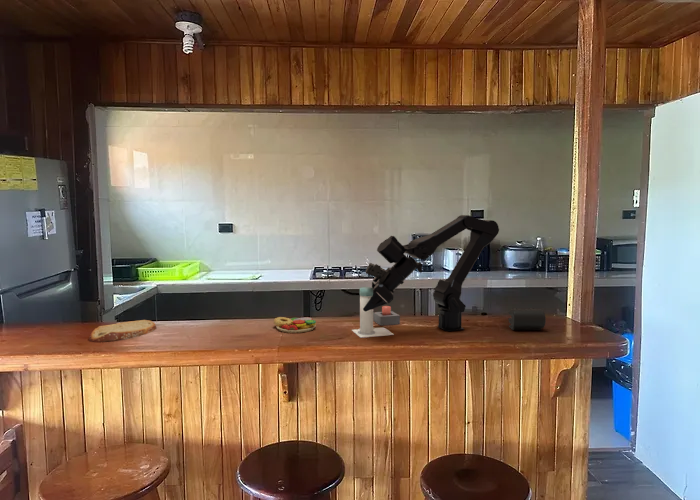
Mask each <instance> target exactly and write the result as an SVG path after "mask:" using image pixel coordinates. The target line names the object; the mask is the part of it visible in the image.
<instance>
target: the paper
mask: <svg viewBox="0 0 700 500" xmlns="http://www.w3.org/2000/svg"><path fill="white" fill-rule="evenodd" d="M351 331H352V332H353V333H354V334H355V335H356V336H358V337H359V338H361V339H363V338H372V337H374V338H375V337H384V336H385V337H386V336H394V335H395V334H394V333H392V332H391V331H390V330H389V329H387V328H385V327H373V333H371V334H362V333H360V328H358V329H351Z"/></svg>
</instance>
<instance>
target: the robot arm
mask: <svg viewBox="0 0 700 500" xmlns="http://www.w3.org/2000/svg"><path fill="white" fill-rule="evenodd" d="M465 230H468V231H470V237H469V238H470V239H469V242H468V244H467V245H466V247H465V249H464V251H463V252H462V254H461V255H460V257H459V259H458V261H457V262H456V264H455V266H454V268H453V269H452V271H451V272H450V274H449V276H448V277H447V278H446V279H445V280H444V279H439V280H438V281H437V284H436V285H435V287H434V288H433V291H434V292H433V293H432V294H433V295H432V297H433V301H434V302H435V304H437V308H438V309H439V314H438V324H437V327H438V328H439V329H441V330H443V331H445V332H452V331H453V332H454V331H465V329H464V327H462V315H463V313H465V310H466V304H465V303H464V302H463V301H462V300H461V299H460V298H461V295H462V289H463V288H462V287H463V283H464V282H465V280H466V278H467V276H468V275H469V273H470V272H471V270H472V268H473V266H474V265H475V263H476V261H477V260H478V258H479V256H480V254H481V253H482V251H483V249H484V248H485V247H486V246H488V245H489V244H491V243H492V242H493V241H494V240H495V238H496V237H497V235H498V234H499V232H500V228H499V225H498V223H497V222H496V221H495V220H491V219H480V218H477V217H473V216H471V215H468V214H467V215H466V214H461V215H459V216H457V217H456V218H455V219H454V220H452V221H449V222H448V223H447V224H445V225H444V226H443V225H442V227H440V228H438V229H437V230H435V231H434V232H431V234H428V235H424V236H419V237H417V238H416V239H413V240H411V241H409V242H408V244H404V245H403V244H402V243H401V242H400V241H399V240H398V238H397V237H396V236H394V235H389V237H388V238H386V239H384V240H383V241H382V242H381V243H379V244H378V247H377V248H376V251H377V252H378V253H379V254H380V255H381V256H382V257H383V258H384V259H385V260H386V261H387V262H388V263H389V264H392V266H391V267H387V268H386V269H385V268H382V267H381V265H379V264H377V263H376V264H374V263H372V262H369V264H368V266H367V268H366V269H365V274H366V275H369V276H373V277H374V278H372V281H371V288H373V295H372V297H371V298H370V300H369V301H368V302H367V304H366V305H365V307H364V308H363V310H364V311H365V312H366V311H368V310H371V309H373V310H374V309H375V308H379V307H382V306H385V305H387V304H390V303H391V302H392V301H393V300H394V293H395V290H396V289H397V288H398V287H399V286H400V285H403V284H404V283H405V280H406V279H407V278H409V276H410V275H411V274H412V273H413V272H414V271H416V270H417V271H418V273H423V263H422V262H421V261H417V260H415V259H418V260H426V259H428V258H430V257H431V256H432V255H434V253H435V252H436V250H438V248H439V246H441V245H443V244H444V243H446V242H447V241H448V240H450V239H452V238H454V237H455V236H457V235H458V234H460V233H461V232H463V231H465ZM405 254H407V255H409V256H408V257H407V255H405ZM414 258H415V259H414Z"/></svg>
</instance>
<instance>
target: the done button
mask: <svg viewBox="0 0 700 500" xmlns="http://www.w3.org/2000/svg"><path fill="white" fill-rule="evenodd" d="M391 311H392V306H389V305H382V306H381V312H382V315H383V316H384V315H391Z"/></svg>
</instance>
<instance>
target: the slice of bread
mask: <svg viewBox="0 0 700 500" xmlns="http://www.w3.org/2000/svg"><path fill="white" fill-rule="evenodd" d="M157 329H158V328H157V325H156V323H155V322H154V321H152V320H147V319H141V320H140V319H139V320H131V321H122V322H117V323H114V324H113V323H112V324H107V325H99V326H98V327H95V328H94V329H93V330H92V331H91V333H90V334H89V337H88V338H89V342H91V343H99V344H100V343H105V342H106V343H107V342H119V341H123V340H124V341H125V340H129V339H134V338H137V337H140V336H144V335H147V334H150V333H152V332H154V331H155V330H157Z"/></svg>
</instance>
